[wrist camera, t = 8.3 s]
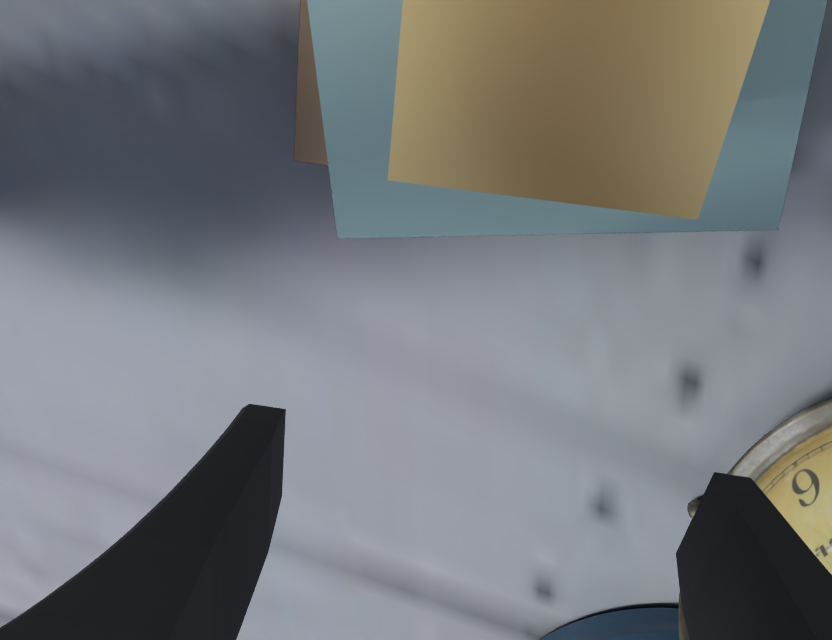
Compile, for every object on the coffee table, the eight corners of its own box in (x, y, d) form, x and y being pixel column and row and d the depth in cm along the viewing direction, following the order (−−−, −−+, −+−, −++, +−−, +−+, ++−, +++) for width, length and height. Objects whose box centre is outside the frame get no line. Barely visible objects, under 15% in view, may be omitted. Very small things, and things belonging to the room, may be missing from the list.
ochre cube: (414, 86, 15) (387, 180, 11) (441, -192, 12) (418, -188, 9) (647, 115, 15) (697, 219, 11) (721, -158, 12) (817, -141, 9)
